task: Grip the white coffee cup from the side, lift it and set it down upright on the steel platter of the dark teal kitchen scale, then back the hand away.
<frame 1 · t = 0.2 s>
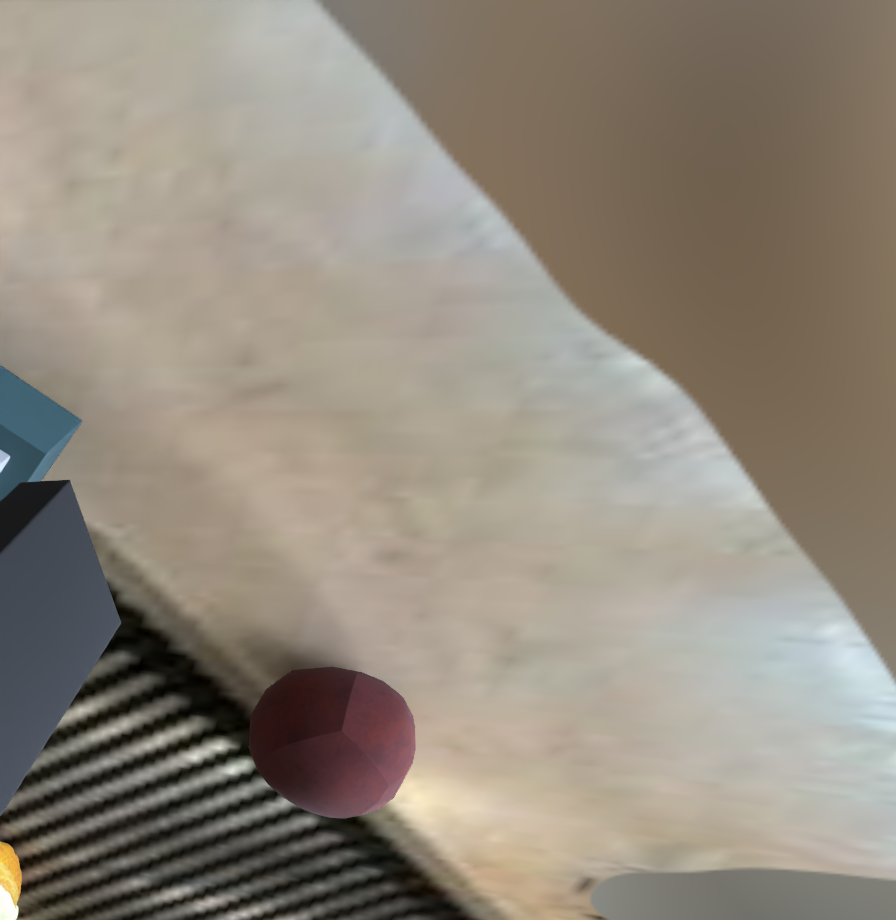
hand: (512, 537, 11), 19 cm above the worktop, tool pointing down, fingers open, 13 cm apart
plum: (348, 689, 39), on the worktop
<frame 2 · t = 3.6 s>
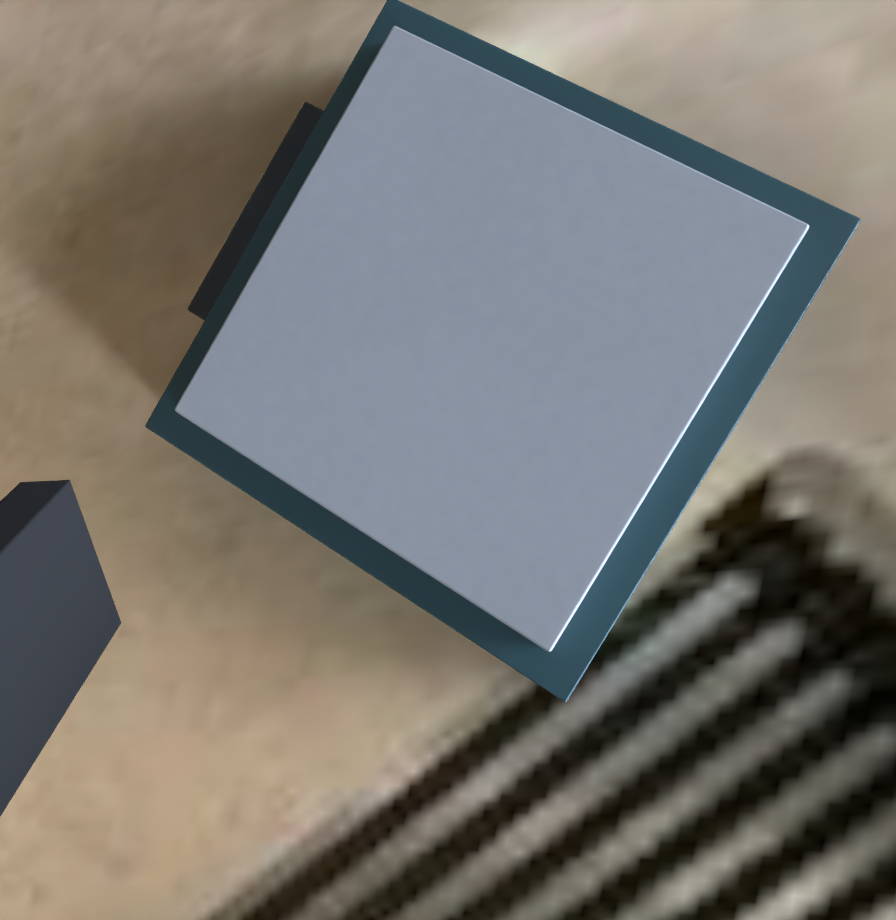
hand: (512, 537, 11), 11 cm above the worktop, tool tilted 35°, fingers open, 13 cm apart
scale: (488, 353, 23), on the worktop
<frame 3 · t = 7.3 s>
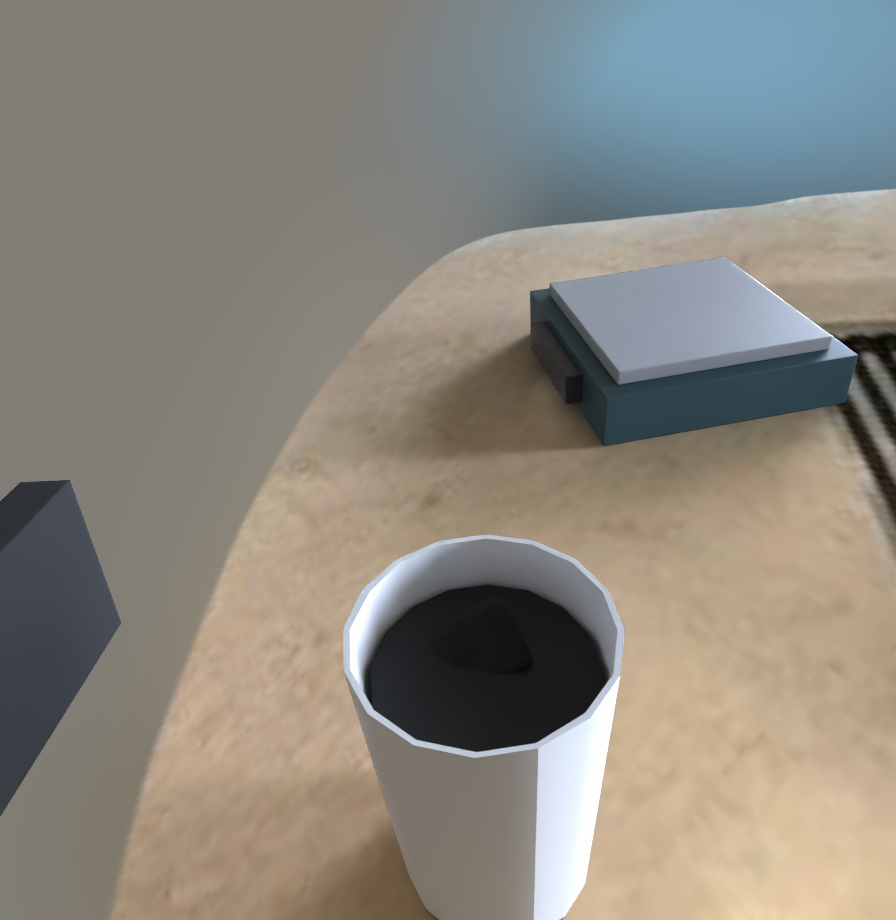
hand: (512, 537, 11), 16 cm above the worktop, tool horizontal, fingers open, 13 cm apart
white coffee cup: (496, 845, 24), on the worktop
scale: (671, 363, 47), on the worktop
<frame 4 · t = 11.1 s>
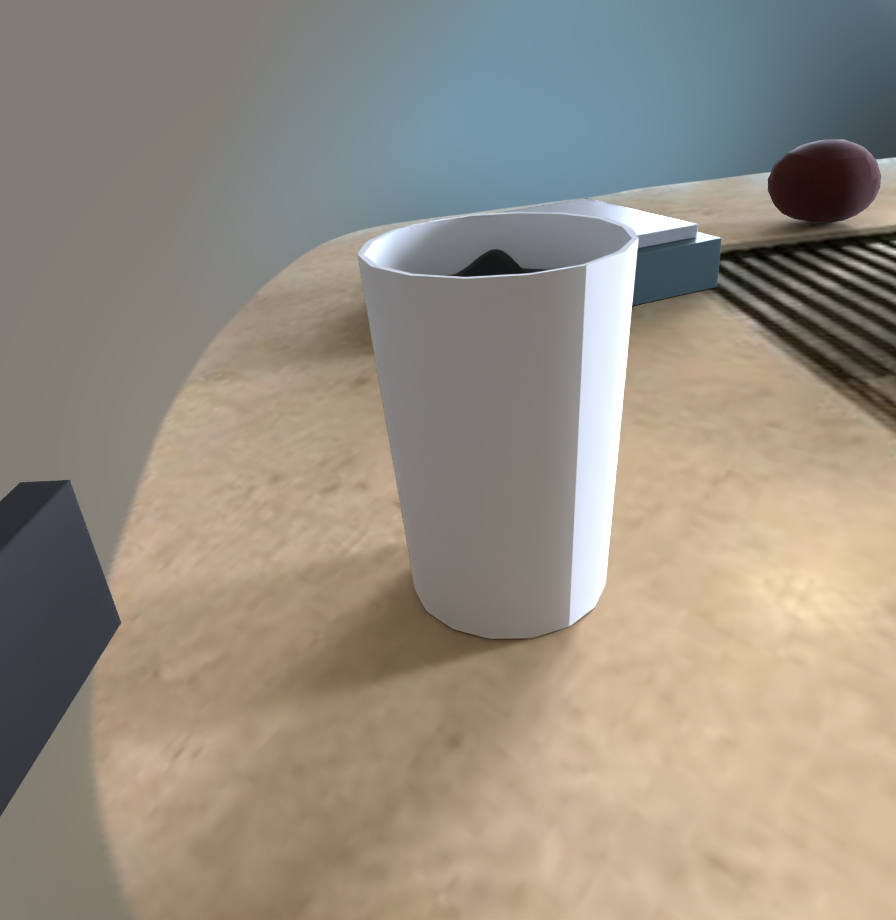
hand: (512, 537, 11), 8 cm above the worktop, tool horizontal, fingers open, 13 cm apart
plum: (815, 223, 60), on the worktop
white coffee cup: (508, 579, 23), on the worktop
scale: (559, 281, 50), on the worktop
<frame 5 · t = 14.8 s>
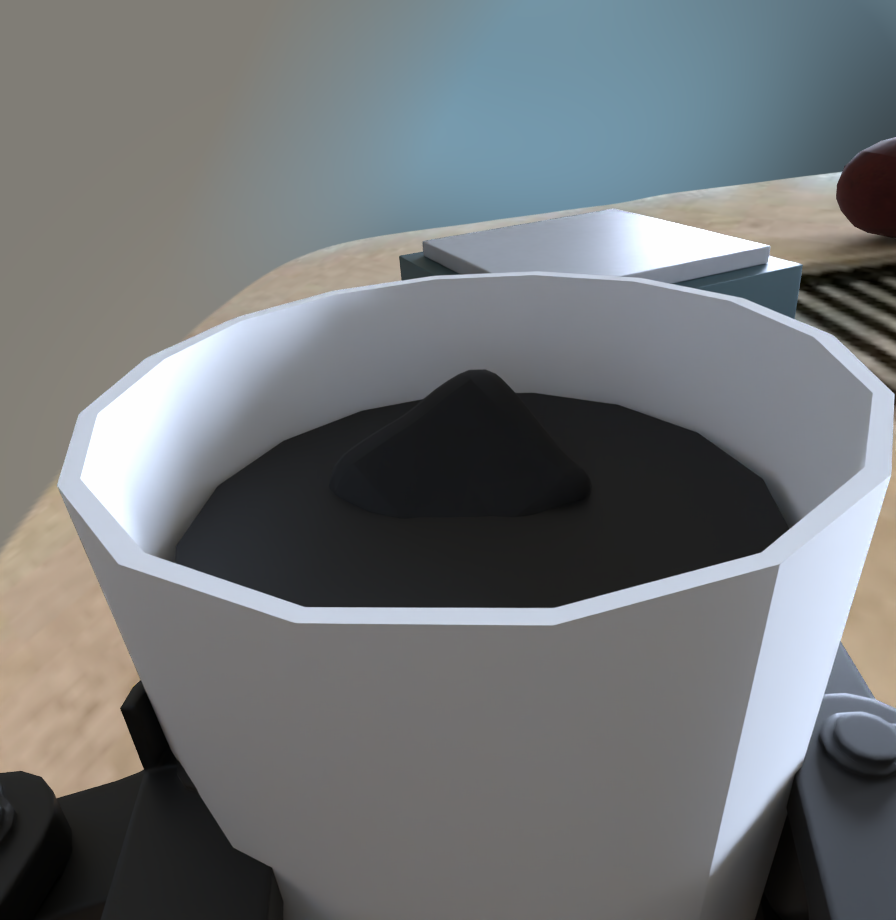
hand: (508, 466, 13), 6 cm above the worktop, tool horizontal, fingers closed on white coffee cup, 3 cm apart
plum: (893, 239, 48), on the worktop
scale: (581, 318, 38), on the worktop
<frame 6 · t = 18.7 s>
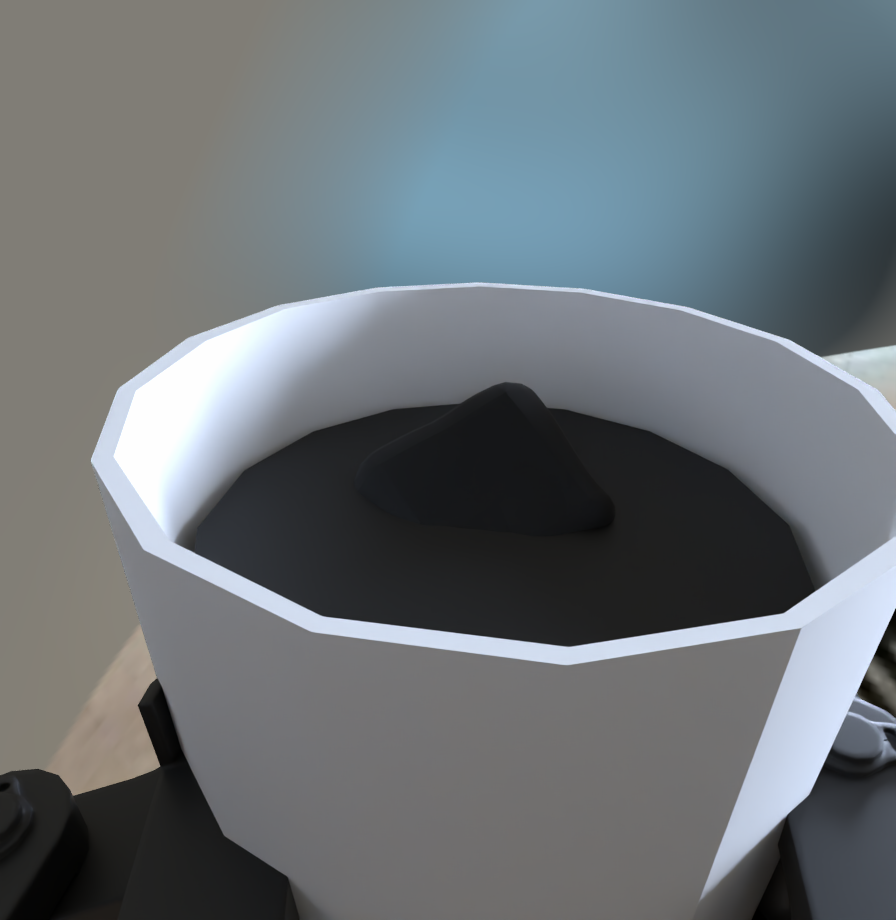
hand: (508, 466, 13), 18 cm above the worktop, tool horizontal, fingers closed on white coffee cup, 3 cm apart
when the fingers open (10 cm above the worktop, at t = 23.1 s): white coffee cup moves 1 cm, resting on scale.
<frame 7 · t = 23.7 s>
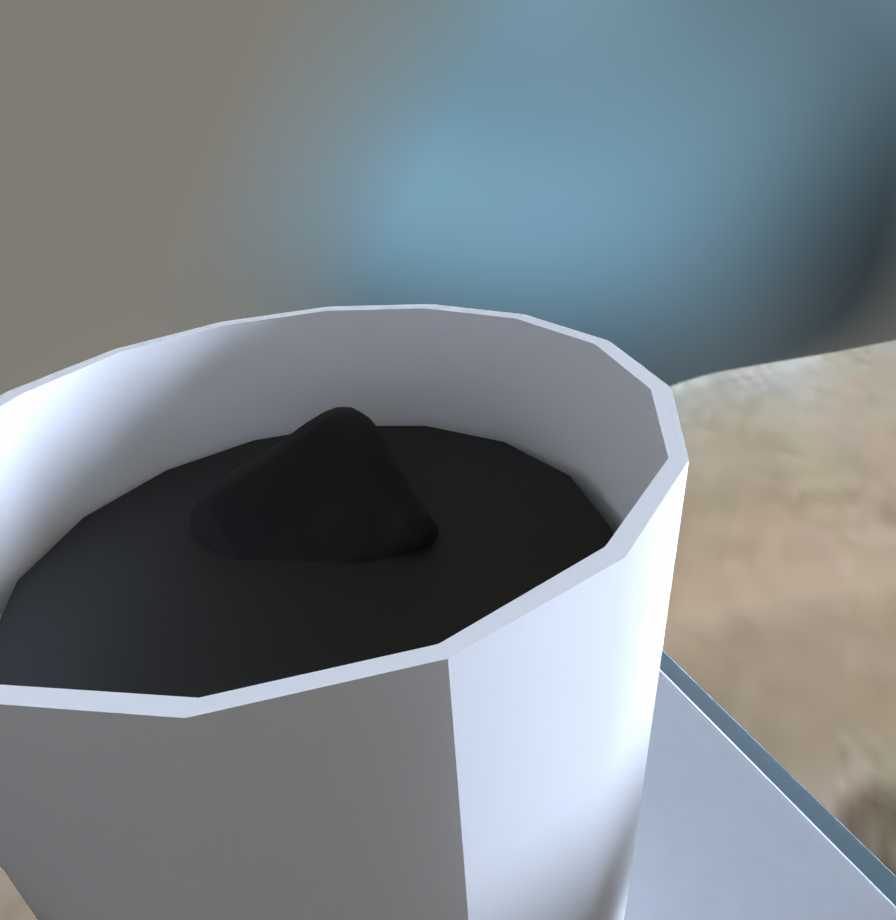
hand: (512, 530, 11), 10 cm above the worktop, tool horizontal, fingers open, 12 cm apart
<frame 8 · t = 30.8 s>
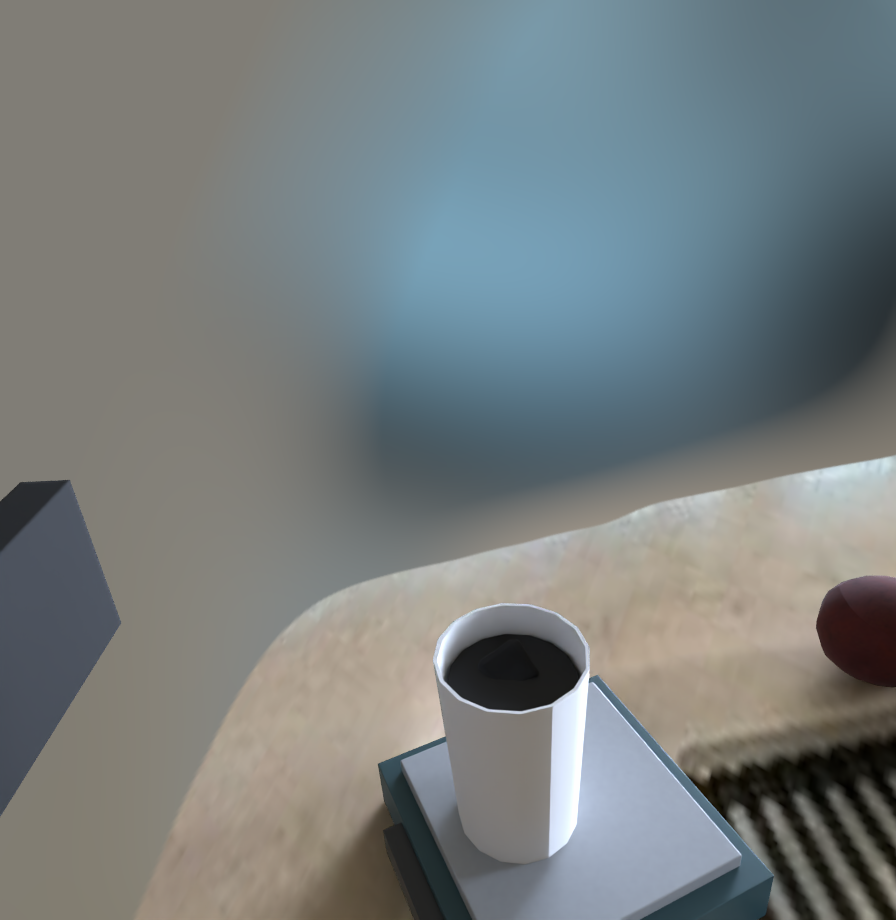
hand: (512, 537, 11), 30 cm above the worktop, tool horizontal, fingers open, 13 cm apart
plum: (873, 665, 48), on the worktop
white coffee cup: (517, 810, 37), point 4 cm above the worktop, touching scale
scale: (557, 852, 39), on the worktop
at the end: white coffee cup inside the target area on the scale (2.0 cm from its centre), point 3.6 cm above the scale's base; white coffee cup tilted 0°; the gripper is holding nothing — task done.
